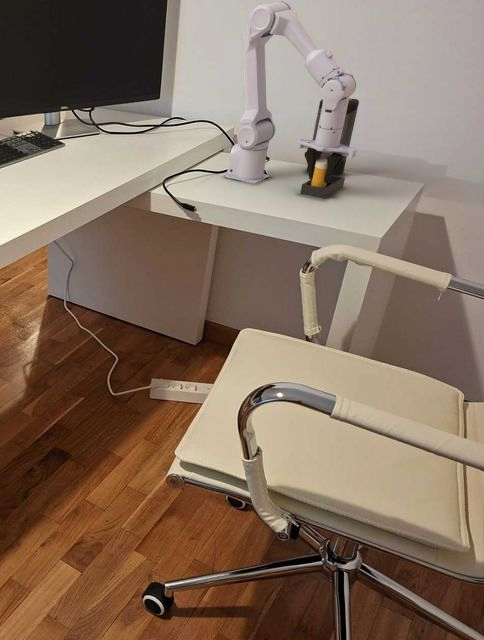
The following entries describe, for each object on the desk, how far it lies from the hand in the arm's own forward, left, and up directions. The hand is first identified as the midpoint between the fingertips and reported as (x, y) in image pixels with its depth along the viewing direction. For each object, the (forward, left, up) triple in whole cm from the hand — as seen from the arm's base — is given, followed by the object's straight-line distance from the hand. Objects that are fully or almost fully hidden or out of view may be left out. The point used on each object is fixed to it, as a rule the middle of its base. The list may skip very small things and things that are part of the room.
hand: (319, 180), depth 172 cm
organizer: (0, +3, -4) cm, 5 cm away
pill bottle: (0, 0, -3) cm, 3 cm away
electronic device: (-6, +17, -4) cm, 18 cm away
